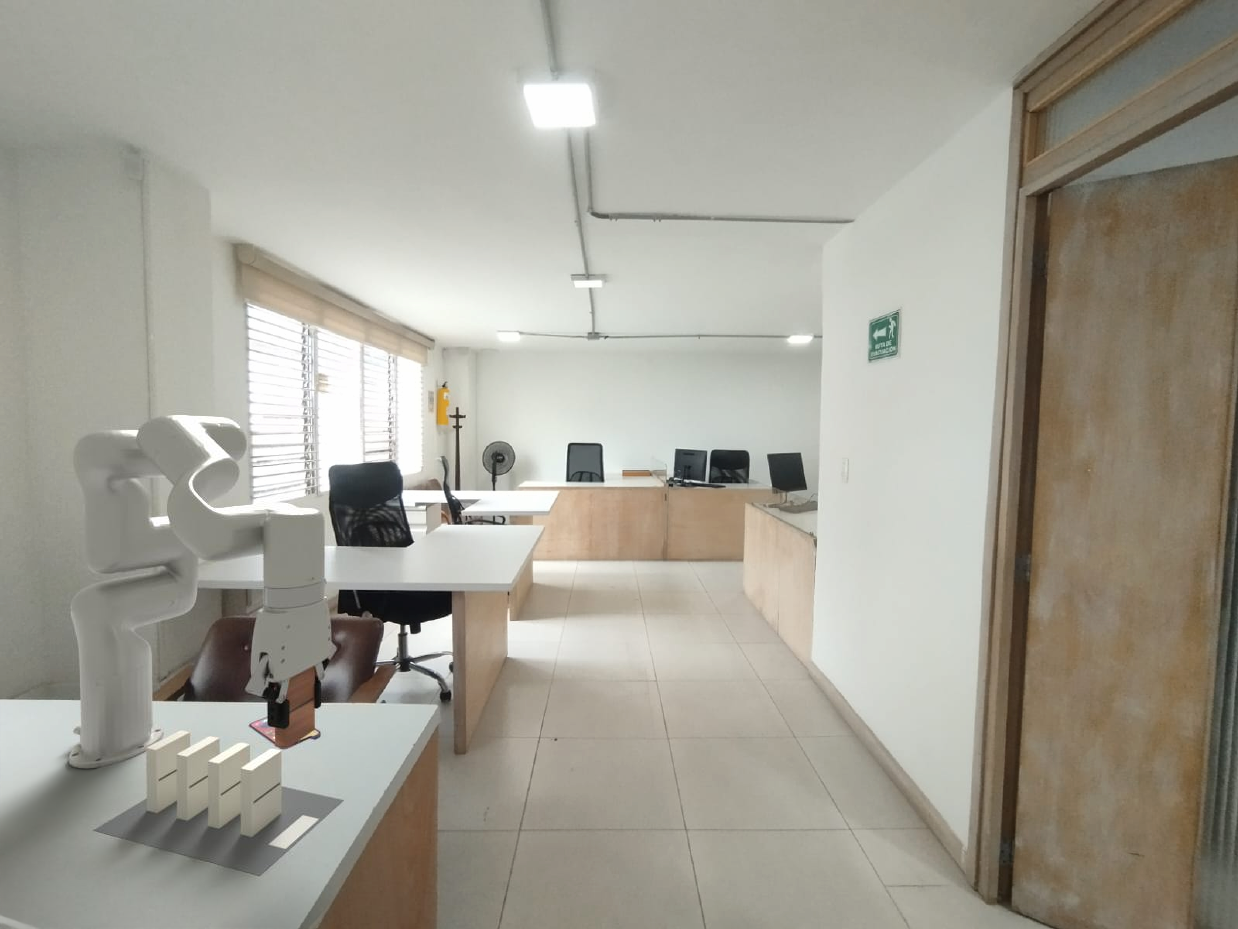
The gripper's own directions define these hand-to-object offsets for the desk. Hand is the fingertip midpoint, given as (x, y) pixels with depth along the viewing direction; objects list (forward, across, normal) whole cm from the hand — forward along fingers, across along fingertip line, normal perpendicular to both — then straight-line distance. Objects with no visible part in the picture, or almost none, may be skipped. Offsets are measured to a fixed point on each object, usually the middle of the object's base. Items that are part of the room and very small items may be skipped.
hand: (295, 715), depth 76 cm
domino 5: (+3, 0, 0) cm, 3 cm away
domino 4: (+18, 0, -6) cm, 19 cm away
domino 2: (+18, 0, -18) cm, 25 cm away
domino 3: (+18, 0, -12) cm, 21 cm away
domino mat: (+18, 0, -13) cm, 22 cm away
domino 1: (+18, 0, -24) cm, 30 cm away
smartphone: (+19, -22, -24) cm, 37 cm away
